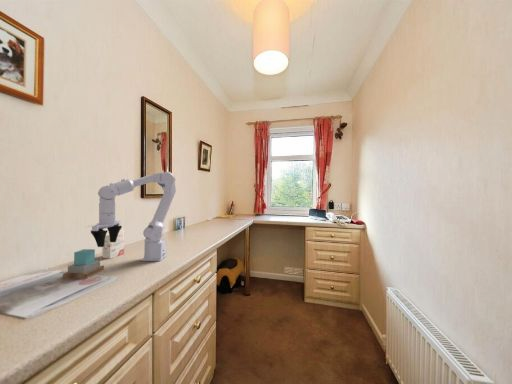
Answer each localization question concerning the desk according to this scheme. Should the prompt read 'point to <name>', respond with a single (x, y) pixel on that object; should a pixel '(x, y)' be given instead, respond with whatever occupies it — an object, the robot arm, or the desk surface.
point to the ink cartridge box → (113, 246)
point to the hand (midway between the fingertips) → (107, 244)
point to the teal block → (84, 257)
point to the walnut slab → (86, 275)
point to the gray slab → (83, 267)
